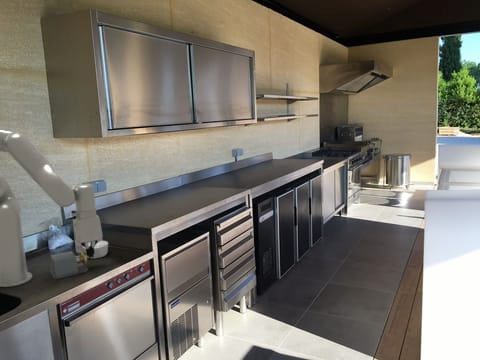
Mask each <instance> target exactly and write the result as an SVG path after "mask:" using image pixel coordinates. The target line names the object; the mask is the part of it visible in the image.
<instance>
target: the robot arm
mask: <svg viewBox="0 0 480 360" xmlns="http://www.w3.org/2000/svg"><path fill="white" fill-rule="evenodd" d="M0 152H3V153H8V155H9V156H10V157H11V158H12V159H14V161H16V162H17V163H18V165H19V166H20V167H21V168H22V169H23V170H24V171H25V172H26V173H27V175H29V176H30V178H31V179H32V180H33V181H34V182H35V183H36V184H37V185H38V186H39V187H40V188H41V189H42V190H43V191H44V193H45V194H47V196H48V197H49V198H51V200H52V201H53V202H54V203H55V204H56V205H58V206H60V207H62V208H68V207H70V206H72V205H73V204H74V203H75V209H76V210H75V211H76V213H73V216H76V217H77V218H76V219H75V237H74V240H75V239H76V243H75V242H74V244H76V245H78V246H84V247H85V248H86V255H87V256H88V257H89V258H88V259H90V258H91V257H94V256H93V254H95V253H94V247H95V245H96V244H97V243H98V242H100V241H104V240H103V231H102V225H101V220H100V217H99V216H100V215H98V214H97V209H96V208H97V207H96V198H95V188H94V185H93V184H92V183H80V184H67V183H66V182H64V180H63V179H62V178H61V177H60V176H59V175H58V173H57V172H56V171H55V169H54V167H53V166H52V165H51V163H50V162H49V160H48V159H47V158H46V157H45V156H44V155H43V154H42V153H41V152H40V151H39V149H37V148H36V146H34V144H32V142H31V141H30V140H29V138H28V136H26V135H25V134H24V133H21V132H19V131H10V130H4V129H0ZM21 208H22V207H21V204H20V202H19V200H18V198H17V197H16V195H15V194H14V191H13V190H12V189H11V186H10V185H9V183H8V181H7V180H6V179H5V177H3V176H2V175H1V174H0V288H9V287H10V288H11V287H15V286H19V285H22V284H25V283H27V282H29V281H30V280H31V279H32V278H33V274H32V273H31V272H29V271H28V267H27V261H26V260H27V259H26V252H25V245H24V243H25V242H24V237H23V236H24V235H23V229H22V222H21V221H22V220H21V212H22V211H21V210H22V209H21ZM73 216H72V217H73ZM88 242H90V247H89V245H88Z"/></svg>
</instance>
